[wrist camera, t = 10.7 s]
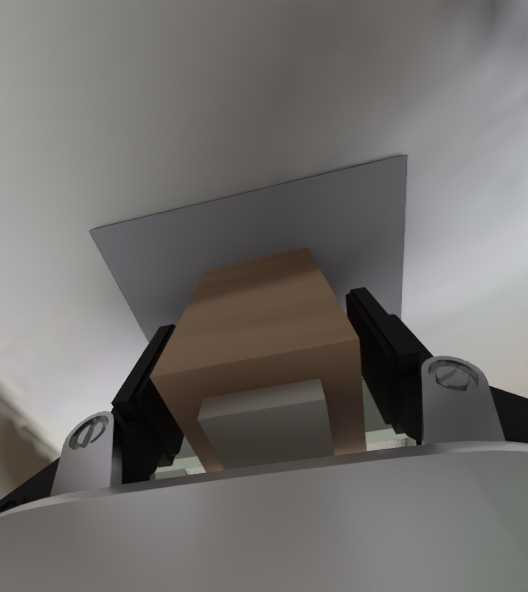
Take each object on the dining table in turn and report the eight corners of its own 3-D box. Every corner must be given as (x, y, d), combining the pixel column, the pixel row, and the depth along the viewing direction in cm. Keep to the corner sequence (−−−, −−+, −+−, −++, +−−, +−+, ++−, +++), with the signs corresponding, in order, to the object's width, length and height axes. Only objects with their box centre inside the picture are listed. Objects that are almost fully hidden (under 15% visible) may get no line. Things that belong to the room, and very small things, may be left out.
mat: (93, 228, 12) (88, 230, 11) (402, 155, 10) (407, 154, 10) (180, 391, 17) (178, 396, 16) (395, 355, 15) (399, 360, 15)
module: (206, 269, 12) (139, 397, 6) (307, 247, 12) (369, 356, 5) (234, 348, 15) (211, 507, 8) (320, 332, 14) (374, 486, 7)
